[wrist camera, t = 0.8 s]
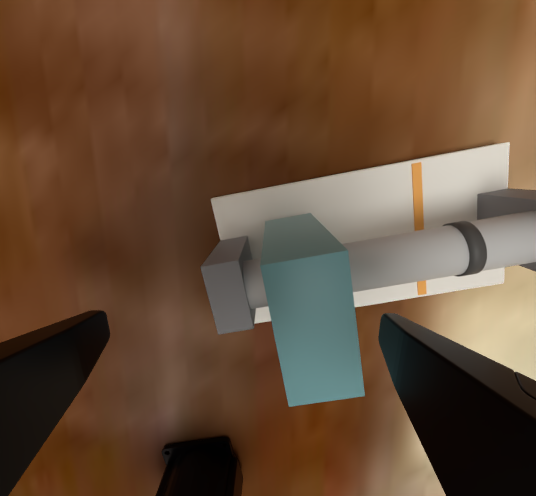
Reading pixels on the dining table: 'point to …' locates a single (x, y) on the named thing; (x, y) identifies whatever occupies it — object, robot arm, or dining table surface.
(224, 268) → the pipe rig
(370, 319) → the dining table surface
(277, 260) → the sleeve collar
